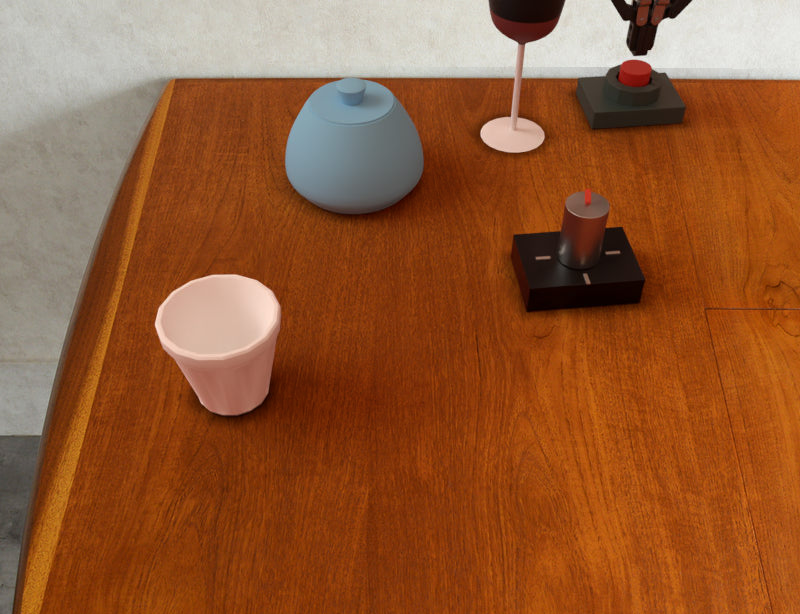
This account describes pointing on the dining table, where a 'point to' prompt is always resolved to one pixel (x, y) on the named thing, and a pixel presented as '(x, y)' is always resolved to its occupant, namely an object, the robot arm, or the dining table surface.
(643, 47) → the robot arm
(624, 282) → the panel
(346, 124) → the sugar bowl
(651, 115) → the switch block
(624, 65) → the button
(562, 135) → the dining table surface
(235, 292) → the cup
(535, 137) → the wineglass
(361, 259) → the dining table surface
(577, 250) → the knob
